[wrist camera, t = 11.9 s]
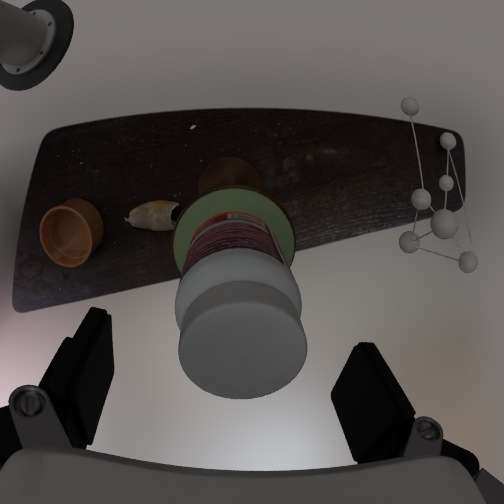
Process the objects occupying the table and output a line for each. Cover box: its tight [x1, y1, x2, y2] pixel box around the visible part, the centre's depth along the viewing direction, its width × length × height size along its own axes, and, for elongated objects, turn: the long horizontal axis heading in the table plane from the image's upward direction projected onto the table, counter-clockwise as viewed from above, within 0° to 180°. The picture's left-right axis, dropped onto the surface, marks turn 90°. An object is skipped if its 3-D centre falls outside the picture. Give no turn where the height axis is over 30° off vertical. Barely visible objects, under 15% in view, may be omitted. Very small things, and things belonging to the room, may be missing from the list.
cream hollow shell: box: [125, 200, 179, 231], centre depth 43 cm, size 8×4×5 cm, turn 102°
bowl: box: [40, 198, 104, 267], centre depth 42 cm, size 9×9×6 cm
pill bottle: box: [175, 210, 307, 399], centre depth 17 cm, size 6×6×11 cm
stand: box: [172, 157, 296, 275], centre depth 34 cm, size 9×9×24 cm
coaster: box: [173, 188, 294, 274], centre depth 22 cm, size 9×9×1 cm
